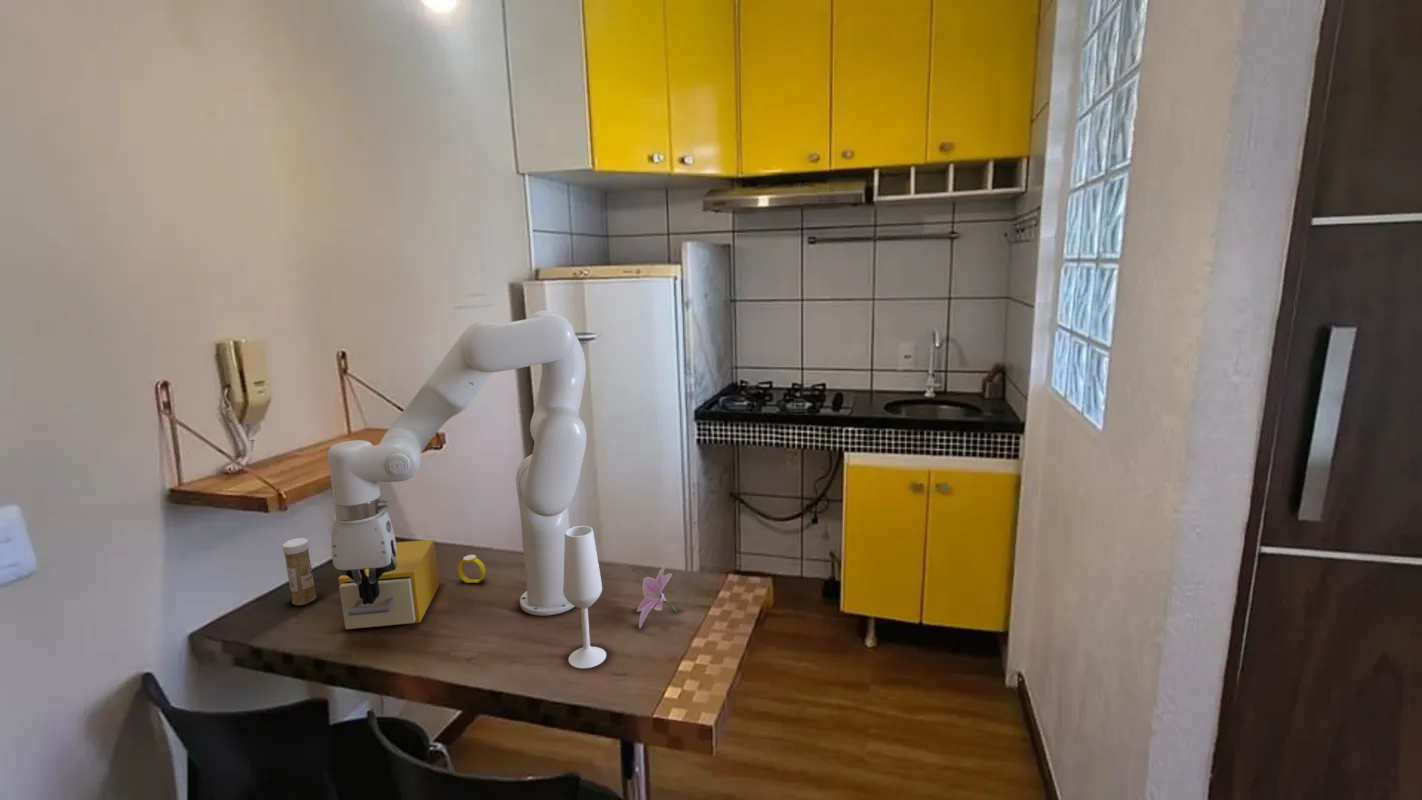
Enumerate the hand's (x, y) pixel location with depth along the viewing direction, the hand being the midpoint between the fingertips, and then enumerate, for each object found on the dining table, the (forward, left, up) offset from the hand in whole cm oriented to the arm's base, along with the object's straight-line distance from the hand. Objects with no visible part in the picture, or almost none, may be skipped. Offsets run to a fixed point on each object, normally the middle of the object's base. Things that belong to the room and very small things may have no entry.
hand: (370, 600), depth 127 cm
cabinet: (0, -12, -8) cm, 14 cm away
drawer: (0, -7, -7) cm, 10 cm away
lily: (-53, +2, -8) cm, 54 cm away
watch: (-14, -20, -8) cm, 26 cm away
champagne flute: (-40, +14, -8) cm, 43 cm away
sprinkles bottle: (+20, -18, -8) cm, 28 cm away
